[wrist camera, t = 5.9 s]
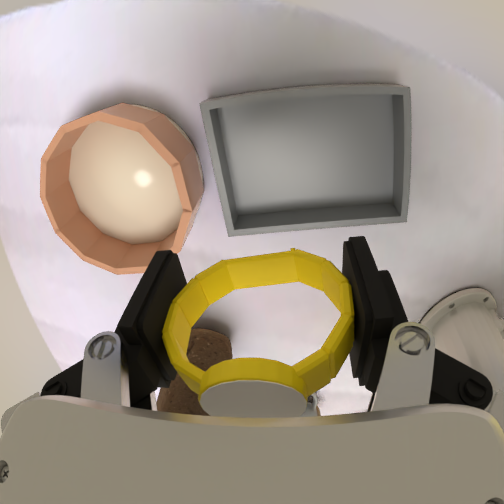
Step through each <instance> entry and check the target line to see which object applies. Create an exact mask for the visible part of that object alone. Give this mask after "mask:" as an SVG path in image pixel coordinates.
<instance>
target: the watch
mask: <svg viewBox="0 0 504 504" xmlns="http://www.w3.org/2000/svg"><path fill="white" fill-rule="evenodd" d="M298 281H299V282H302V283H304V284H306V285H309V286H311V287H314V288H316V289H319V290H321V291H324V293H325V294H326V295H327V296H328V298H329V299H330V300H331V301H332V302H333V304H334V305H335V306H336V307H337V309H338V310H339V311H340V312H341V317H340V318H339V320H338V322H337V323H336V325H335V326H334V328H333V330H332V331H331V333H330V335H329V336H328V338H327V339H326V341H325V343H324V344H323V346H322V347H321V349H319V350H318V351H316V352H315V353H313V354H311V355H310V356H308V357H306V358H305V359H303V360H302V361H300V362H298V363H296V364H295V365H293V366H289V365H287V364H284V363H281V362H279V361H275V360H269V359H263V358H236V359H231V360H225V361H222V362H220V363H218V364H215V365H213V366H211V367H210V368H209V369H208V370H207V371H206V372H205V371H203V370H201V369H200V368H198V367H196V366H195V365H193V364H191V363H190V362H189V360H188V358H187V356H186V353H187V348H188V343H189V338H190V333H191V328H192V327H193V325H194V324H195V323H196V321H197V320H198V319H199V318H200V316H201V315H202V314H203V312H204V311H205V310H206V309H207V307H208V306H209V305H211V304H212V303H214V302H215V301H217V300H219V299H220V298H222V297H223V296H225V295H227V294H228V293H230V292H231V291H233V290H234V289H241V288H250V287H258V286H267V285H275V284H283V283H291V282H298ZM162 333H163V335H162V339H163V342H164V345H165V348H166V351H167V354H168V356H169V359H170V362H171V364H172V365H173V367H174V368H175V370H176V371H177V372H178V374H179V375H180V376H181V378H182V379H183V381H184V382H185V383H186V385H188V387H189V388H190V389H191V390H192V391H194V392H195V393H197V394H198V395H199V396H198V401H199V403H200V405H201V407H202V408H203V410H204V411H205V412H207V413H208V414H209V415H210V416H216V417H238V418H293V417H300V416H301V415H302V414H303V412H304V411H305V410H306V407H307V401H308V398H307V397H308V396H310V395H311V394H313V393H315V392H316V391H318V390H319V389H321V388H322V387H324V386H326V385H327V384H329V383H330V381H331V379H332V378H335V377H336V375H337V373H338V372H339V370H340V368H341V367H342V365H343V363H344V361H345V360H346V358H347V356H348V354H349V352H350V351H351V349H352V347H353V341H354V306H353V297H352V289H351V285H350V284H349V280H348V279H347V278H346V277H345V276H344V275H343V274H342V273H341V272H340V271H339V270H338V269H337V268H336V267H335V266H334V265H333V264H332V263H331V262H330V261H328V260H326V259H325V258H322V257H319V256H316V255H313V254H310V253H307V252H304V251H301V250H298V249H297V250H295V248H291V251H286V252H279V253H271V254H264V255H257V256H250V257H243V258H236V259H229V260H221V261H220V262H218V263H216V264H214V265H213V266H211V267H209V268H208V269H206V270H204V271H203V272H201V273H199V274H198V275H196V276H195V278H194V279H193V278H192V279H191V280H190V281H189V282H188V284H187V285H186V286H185V287H184V288H183V289H182V290H181V291H180V293H179V294H178V295H177V296H176V297H175V298H174V299H173V300H172V304H171V305H170V308H169V311H168V314H167V317H166V320H165V323H164V326H163V330H162Z"/></svg>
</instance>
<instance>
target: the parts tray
mask: <svg viewBox="0 0 504 504" xmlns="http://www.w3.org/2000/svg"><path fill="white" fill-rule="evenodd" d="M199 104H200V109H201V113H202V118H203V123H204V128H205V133H206V137H207V142H208V147H209V151H210V156H211V161H212V165H213V170H214V175H215V179H216V184H217V188H218V193H219V197H220V202H221V206H222V211H223V215H224V220H225V224H226V228H227V233H228V237H231V236H242V235H253V234H264V233H275V232H286V231H298V230H310V229H322V228H335V227H347V226H360V225H374V224H387V223H401V222H407V215H408V203H409V190H410V172H411V96H410V87H406V86H402V85H398V84H333V85H314V86H301V87H290V88H280V89H271V90H263V91H255V92H248V93H241V94H235V95H229V96H223V97H218V98H212V99H208V100H205V101H203V102H201V103H199Z"/></svg>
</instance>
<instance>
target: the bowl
mask: <svg viewBox="0 0 504 504" xmlns="http://www.w3.org/2000/svg"><path fill="white" fill-rule="evenodd" d="M203 192H204V187H203V173H202V167H201V163H200V160H199V156H198V154H197V152H196V150H195V147H194V145H193V144H192V142H191V141H190V139H189V137H188V136H187V135H186V134H185V132H184V131H183V130H182V129H181V128H180V127H179V126H178V125H177V124H176V123H175V122H174V121H173V120H171V119H170V118H169V117H167V116H166V115H164V114H163V113H161V112H159V111H157V110H155V109H152V108H149V107H146V106H141V105H136V104H126V103H120V104H117V105H114V106H111V107H108V108H105V109H102V110H100V111H97V112H95V113H92V114H89V115H87V116H84V117H81V118H79V119H76V120H74V121H72V122H69V123H67V124H65V125H62V126H61V127H60V128H59V130H58V131H57V133H56V135H55V136H54V138H53V139H52V141H51V143H50V144H49V146H48V148H47V149H46V151H45V153H44V154H43V156H42V158H41V173H40V198H41V200H42V203H43V205H44V208H45V210H46V213H47V215H48V217H49V220H50V222H51V224H52V226H53V229H54V231H55V233H56V234H57V235H58V236H59V237H60V238H61V239H62V240H63V241H64V242H65V243H66V244H67V245H68V246H69V247H70V248H71V249H72V250H73V251H74V252H75V253H76V254H77V255H78V256H79V257H80V258H81V259H82V260H83V261H86V262H88V263H90V264H93V265H95V266H97V267H100V268H102V269H105V270H107V271H109V272H112V273H114V274H117V275H119V274H135V273H145V271H146V269H147V267H148V265H149V263H150V262H151V260H152V258H153V256H154V254H155V253H156V251H161V250H172V252H173V253H176V254H177V253H179V252H180V251H181V249H182V247H183V245H184V243H185V241H186V239H187V237H188V235H189V233H190V231H191V228H192V226H193V223H194V220H195V217H196V214H197V211H198V209H199V206H200V203H201V199H202V195H203Z"/></svg>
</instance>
